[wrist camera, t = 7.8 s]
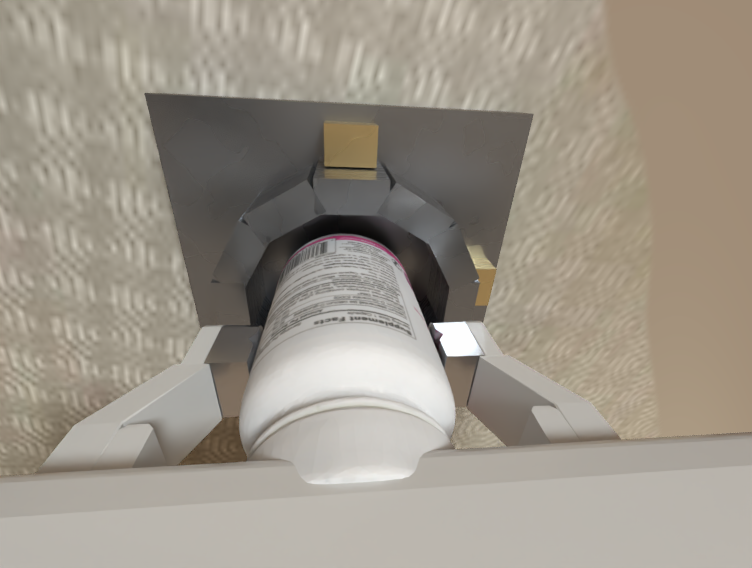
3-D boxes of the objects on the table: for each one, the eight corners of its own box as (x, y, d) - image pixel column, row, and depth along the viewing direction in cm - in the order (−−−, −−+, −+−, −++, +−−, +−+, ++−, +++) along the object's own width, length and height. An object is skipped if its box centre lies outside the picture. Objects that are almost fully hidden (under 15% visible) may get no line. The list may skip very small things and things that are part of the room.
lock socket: (222, 375, 17) (196, 438, 14) (160, 93, 11) (90, 93, 8) (461, 369, 18) (487, 425, 15) (519, 112, 12) (579, 118, 9)
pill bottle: (399, 341, 14) (464, 605, 7) (281, 339, 14) (216, 627, 6) (417, 233, 12) (542, 455, 5) (276, 224, 11) (166, 466, 4)
